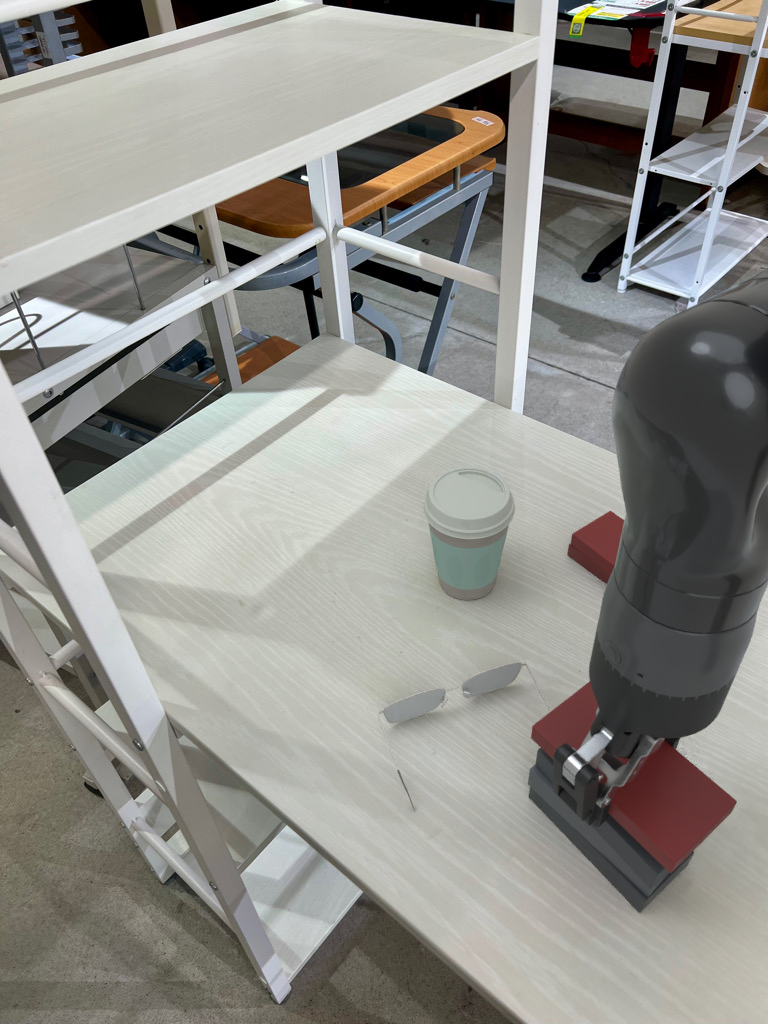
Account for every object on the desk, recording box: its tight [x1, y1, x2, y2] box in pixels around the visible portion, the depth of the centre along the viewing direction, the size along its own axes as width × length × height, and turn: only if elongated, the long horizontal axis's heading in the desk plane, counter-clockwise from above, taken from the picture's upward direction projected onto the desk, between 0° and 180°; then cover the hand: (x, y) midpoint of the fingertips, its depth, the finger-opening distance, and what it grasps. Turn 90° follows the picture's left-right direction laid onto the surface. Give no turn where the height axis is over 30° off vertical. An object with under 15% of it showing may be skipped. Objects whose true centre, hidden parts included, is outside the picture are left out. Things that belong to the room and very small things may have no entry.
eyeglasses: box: [376, 661, 552, 812], centre depth 62 cm, size 14×8×4 cm, turn 109°
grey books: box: [527, 747, 695, 914], centre depth 55 cm, size 12×6×7 cm, turn 37°
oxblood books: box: [567, 510, 625, 585], centre depth 75 cm, size 12×6×3 cm, turn 37°
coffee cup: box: [422, 465, 516, 601], centre depth 72 cm, size 8×8×12 cm
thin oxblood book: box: [530, 680, 738, 873], centre depth 50 cm, size 12×6×2 cm, turn 37°
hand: (622, 783), depth 52 cm, fingers closed on thin oxblood book, 6 cm apart
